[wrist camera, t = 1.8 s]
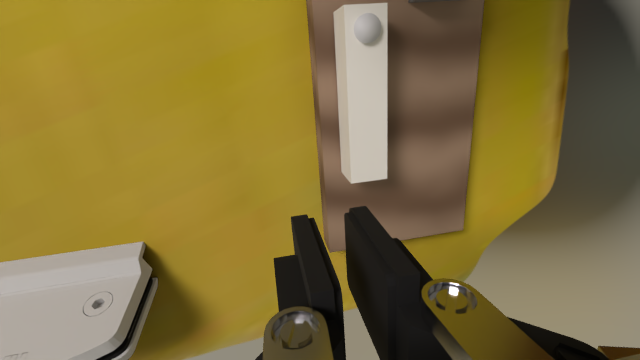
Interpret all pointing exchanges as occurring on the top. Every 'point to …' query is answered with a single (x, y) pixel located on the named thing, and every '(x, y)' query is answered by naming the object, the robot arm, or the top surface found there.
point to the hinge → (75, 304)
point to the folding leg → (362, 90)
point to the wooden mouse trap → (404, 117)
